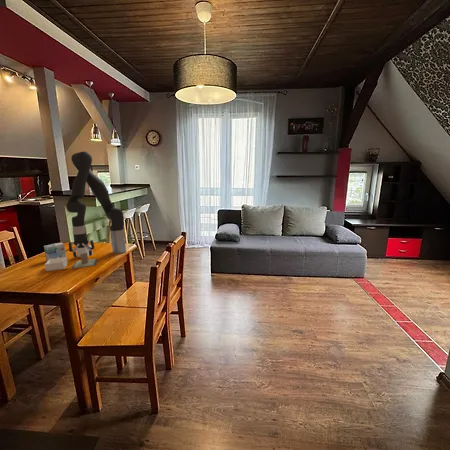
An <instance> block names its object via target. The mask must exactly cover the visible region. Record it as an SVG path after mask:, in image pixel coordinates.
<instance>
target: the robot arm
mask: <svg viewBox="0 0 450 450" xmlns="http://www.w3.org/2000/svg"><path fill="white" fill-rule="evenodd" d="M71 162H72V165H74V167H75V168H76V170H77V171H78V172H77V174H76V176H75V179H74V180H73V183H72V188H71V193H70V196H69V199H68V201H67V202H66V209H67V211H68V212H69V213H72V214H73V213H76V216H72V218H71V225H72V235H73V241H69V242H68V251H69V252H70V253H72V256H73V257H74V259H77V258H78V256H77V250H76V249H77V248H85V247H86V248H87V249H88V250H89V256H88V257H91V256H93V254H92V253H93V251H94V250H95V244H94V240H93V239H91V240H89V239H88V233H87V227H86V221H85V217H86V211H87V206H86V203H85V202H84V201H79V200H80V199H83V198H85V195H86V194H85V193H86V191H85V190H86V185H88V187H89V190H91V193H92V194H93V195H94V196H95V198H96V199H97V201H98V203H99V204H100V205H101V207H102V209H103V211H104V213H105V216H106V217H107V218H108V220H110V222H111V223H110V224H111V225H110V226H109V231H110V232H109V233H110V241H111V248H112V253H113V254H123V253H126V252H127V246H126V238H125V232H124V231H125V230H124V226H125V220H124V219H125V216H124V212H123V211H122V209H120V208H118V207H117V208H116V207H115V205H114V204H113V202H112V201H111V198H110V193H109V191H108V188H107V185H106V184H105V183H104V182H103V180H102V179H100V177H98V176H97V175H96V174H95V173H93V172H92V170H91V167H92V163H93V157H92V155H91V153H89V152H88V151H85V150H84V151H79V152H76V153H74V154H72V155H71ZM89 244H90V245H91V247H92V248H91V247H89ZM73 245H74V246H75V247H74V248H73Z"/></svg>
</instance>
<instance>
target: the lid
mask: <svg viewBox="0 0 450 450" xmlns="http://www.w3.org/2000/svg"><path fill="white" fill-rule="evenodd" d="M80 256H81V257H80V260H77V261H75V262H76V264H75V266H74V268H73V269H79V268H78V267H81V268H86V266H88V267H94V266H93V265H94V263H95V260H97V259H96V258H91V259H89V256H88V255H87V253H82V254H81V255H80Z"/></svg>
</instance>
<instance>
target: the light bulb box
mask: <svg viewBox="0 0 450 450" xmlns="http://www.w3.org/2000/svg"><path fill="white" fill-rule="evenodd" d="M43 248H44V254H45V260H46V262H47V261H48V260H49V259H55V258H64V257H67V254H66V253H67V252H66V248H65V243H63V242H61V241H60V242H57V243H56V242H55V243H51V244H48V245H43Z"/></svg>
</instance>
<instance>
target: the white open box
mask: <svg viewBox="0 0 450 450" xmlns="http://www.w3.org/2000/svg"><path fill="white" fill-rule="evenodd" d="M67 265H68V258H67V256H66V257H64V258H55V259H49V260H48V261H46V262H45V263H44V267H45V272H51V271H59V270H61V271H62V270H64V269H66V267H67Z"/></svg>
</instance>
